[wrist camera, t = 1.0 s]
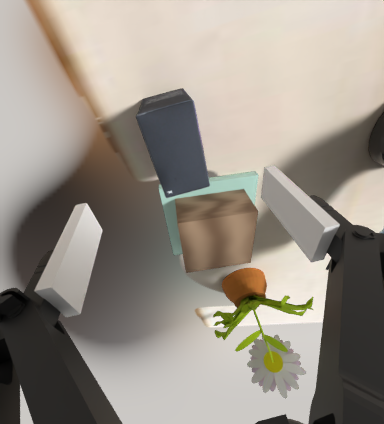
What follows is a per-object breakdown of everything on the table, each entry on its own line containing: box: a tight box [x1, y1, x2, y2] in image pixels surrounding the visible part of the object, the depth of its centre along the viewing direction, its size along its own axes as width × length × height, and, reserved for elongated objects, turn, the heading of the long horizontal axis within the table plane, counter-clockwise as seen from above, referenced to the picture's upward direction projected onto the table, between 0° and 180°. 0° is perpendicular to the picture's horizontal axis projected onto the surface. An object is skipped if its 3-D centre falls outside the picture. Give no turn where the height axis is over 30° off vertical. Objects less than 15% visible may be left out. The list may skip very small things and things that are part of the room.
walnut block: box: [175, 189, 258, 273], centre depth 38 cm, size 13×13×7 cm
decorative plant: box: [213, 268, 313, 398], centre depth 49 cm, size 27×24×25 cm
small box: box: [136, 89, 210, 198], centre depth 27 cm, size 11×6×10 cm, turn 13°
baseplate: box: [159, 171, 258, 255], centre depth 42 cm, size 18×18×2 cm
